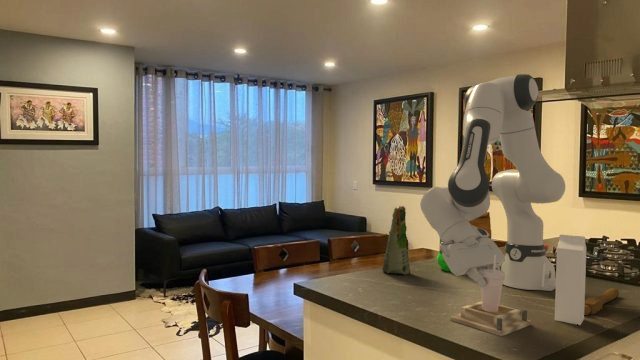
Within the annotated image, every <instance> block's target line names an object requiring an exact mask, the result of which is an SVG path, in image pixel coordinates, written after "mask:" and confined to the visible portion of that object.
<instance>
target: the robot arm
mask: <svg viewBox="0 0 640 360" xmlns="http://www.w3.org/2000/svg"><path fill="white" fill-rule="evenodd" d="M538 97H539V87H538V85H537V81H536V79H535V78H534V77H533V76H532V75H531V74H527V73H526V74H525V73H524V74H523V73H522V74H521V73H520V74H517V75H510V76H504V77H499V78H496V79H493V80H489V81H484V82H481V83H478V84H475V85H473V86H470V87H469V88H468V89H467V91H466V93H465V95H464V106H465V109H464V115H463V122H462V133H463V134H462V135H463V138H464V140H463V145H462V148H461V153H460V158H459V161H458V164H457V165H456V168H455V169H454V170H453V172H452V173H451V174H450V176H449V178H448V182H447V187H446V186H445V187H443V186H442V187H440V186H434V187H432V188H429V189H428V190H427V191H426V192H425V193H424V194H423V196H422V198H421V199H420V203H419V204H420V209H421V212H422V214H423V215H424V217H425V219H426V221H427V222H428V223H429V225H430V226H431V228H432V229H433V230H435V232H436V233H437V235H438V236H439V240H440V239H441V241H442V242H441V243H440V242H439V250H441V251H442V255H443V258H444V260H445V262H446V263H447V265H448V267H449V269H450V270H451V271H450V273H452V274H453V275H455V276H456V277H458V276H462V275H468V277H469V278H470V279H472V280H473V281H474V282H475V283H476V284H478V286H479V287H480V288H481V287H485V286H486V285H487V284H488V281H487V280H486V278H485V277H482V276H481V275H480V274H479V270H481V269H493V261H494V255H496V268H495V270H499V271H502V272H504V273H505V278H504V279H503V285H504V286H506V287H510V288H515V289H520V290H528V291H530V290H531V291H533V290H534V291H547V292H548V291H549V292H551V291H554V290H556V272H555V271H556V270H555V269H556V267H555V265H553V263H552V262H551V261H550V260H549V259H548V257H547V256H546V255H547V254H546V251H549V248H550V247H549V244H544V221H543V219H542V218H541V217H540V216H539V215H538V214H536V212H535V211H534V208H533V206H532V203H533V204H551V203H555V202H559V201H561V199H562V198H563V196H564V194H565V192H566V182H565V179H564V177H563V176H562V175H561V174H560V173H559V172H557V171H555V170H554V168H553V167H551V165H549V163H548V162H547V161H546V159H545V157H544V155H543V154H542V151H541V150H540V147H539V146H540V145H539V142H538V136H537V132H536V126H535V121H534V117H533V114H532V111H531V108H532V107H534V106H535V104H536V102H537V101H538ZM499 139H500V140H499ZM498 140H499V141H500V146H501V152H502V155H503V157H504V158H505V159H507V160H508V161H510V162H511V163H512V164H513V165H514V167H515V168H516V169H512V168H511V169H506V170H502V171H499V172H497V173H496V174H495V175H494V176H493V178H492V181H491V189H492V192H493V195H495V196H496V197H497V198H498V200H499V201H500V203H501V204H502V207H503V209H504V212H505V216H506V224H507V226H506V227H507V228H506V229H507V232H506V233H507V235H506V237H507V238H506V239H507V240H506V242H505V246H504V248H505V251H504V252H505V254H504V253H503V252H502V250H501V249H500V248H499V247H498V245H497V243H496V242H495V241H494V240H493V239H492V238H491V239H490V238H487V237H488V236H489V233H488V232H487V231H486V230H484V229H480V228H477V227H475V226H473V225H471V224H470V223H469V221H472V220H474V219H476V218H479V217H481V216H482V215H484V214H485V213H486V212H489V209H490V206H491V199H490V198H491V197H490V196H491V195H490V180H489V176H488V175H487V172H486V169H485V167H486V166H485V164H486V159H487V158H486V157H487V152H488V147H489V145H492V144H494V143H496V142H497V141H498ZM500 266H501V268H500Z"/></svg>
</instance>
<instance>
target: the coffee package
mask: <svg viewBox="0 0 640 360" xmlns="http://www.w3.org/2000/svg"><path fill="white" fill-rule="evenodd" d="M469 223H470V224H471V225H473V226H475V227H477V228H480V229H484V230H486V231H487V232H488V233H489V236H488V237H487V238H490V239H491V240H492V227H491V216H490V212H489V211H487V212H486V213H485V214H484V215H482V216H481V217H479V218H476V219H474V220H472V221H469Z"/></svg>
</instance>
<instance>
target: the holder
mask: <svg viewBox="0 0 640 360" xmlns="http://www.w3.org/2000/svg"><path fill="white" fill-rule="evenodd" d="M449 318H450V319H449V320H450V321H452V322H454V323H458V324H461V325H464V326H467V327H470V328H473V329H477V330H480V331H483V332H486V333H489V334H492V335H496V336H499V337H503V336H506V335H508V334H510V333H514V332H516V331H519V330H522V329H523V328H526V327H530V326H532V320H530V319H528V310H527V309H522V310H521V309H518V308H513V307H510V306H506V305H502V304H499V307H498V311H497V312H488V311H485V310H483V309H482V300H481V301H478V302H474V303H471V304H467V305H464V306H461V307H460V313H458V314H454V315H450V317H449Z"/></svg>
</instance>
